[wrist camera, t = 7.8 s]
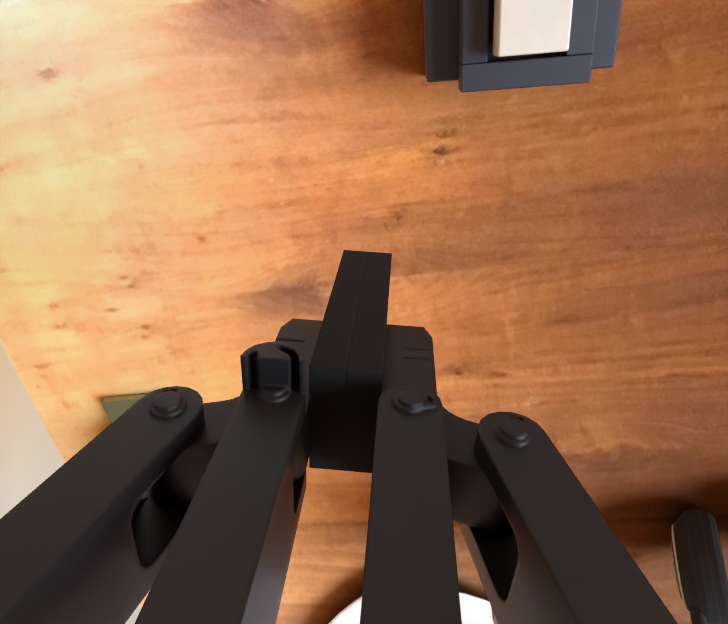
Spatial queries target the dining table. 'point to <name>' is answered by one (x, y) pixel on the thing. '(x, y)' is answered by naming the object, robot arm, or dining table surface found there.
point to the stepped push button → (488, 72)
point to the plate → (472, 607)
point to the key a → (531, 26)
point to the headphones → (700, 567)
